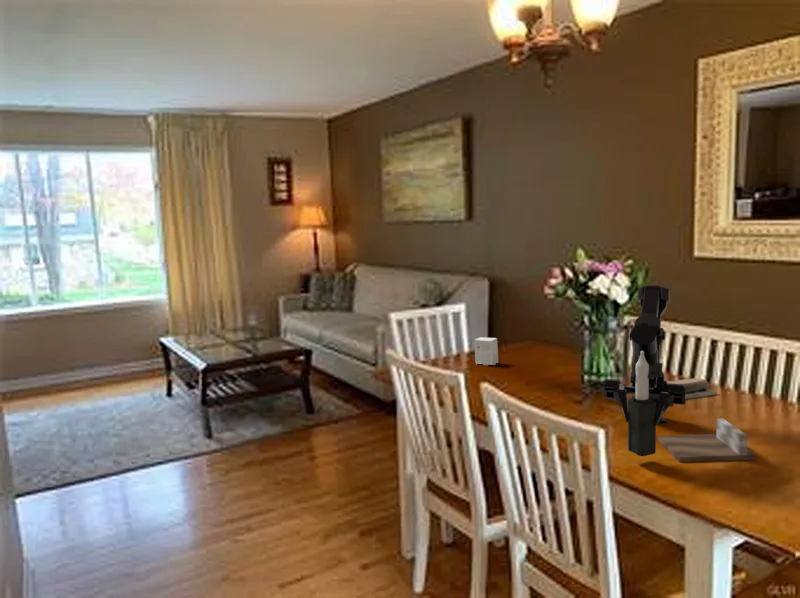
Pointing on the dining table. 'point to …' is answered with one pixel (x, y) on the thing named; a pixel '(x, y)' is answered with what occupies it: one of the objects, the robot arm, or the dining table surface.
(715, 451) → the shelf board
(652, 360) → the robot arm
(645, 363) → the candle
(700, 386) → the packaged product
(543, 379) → the dining table surface
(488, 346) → the small box
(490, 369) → the dining table surface
